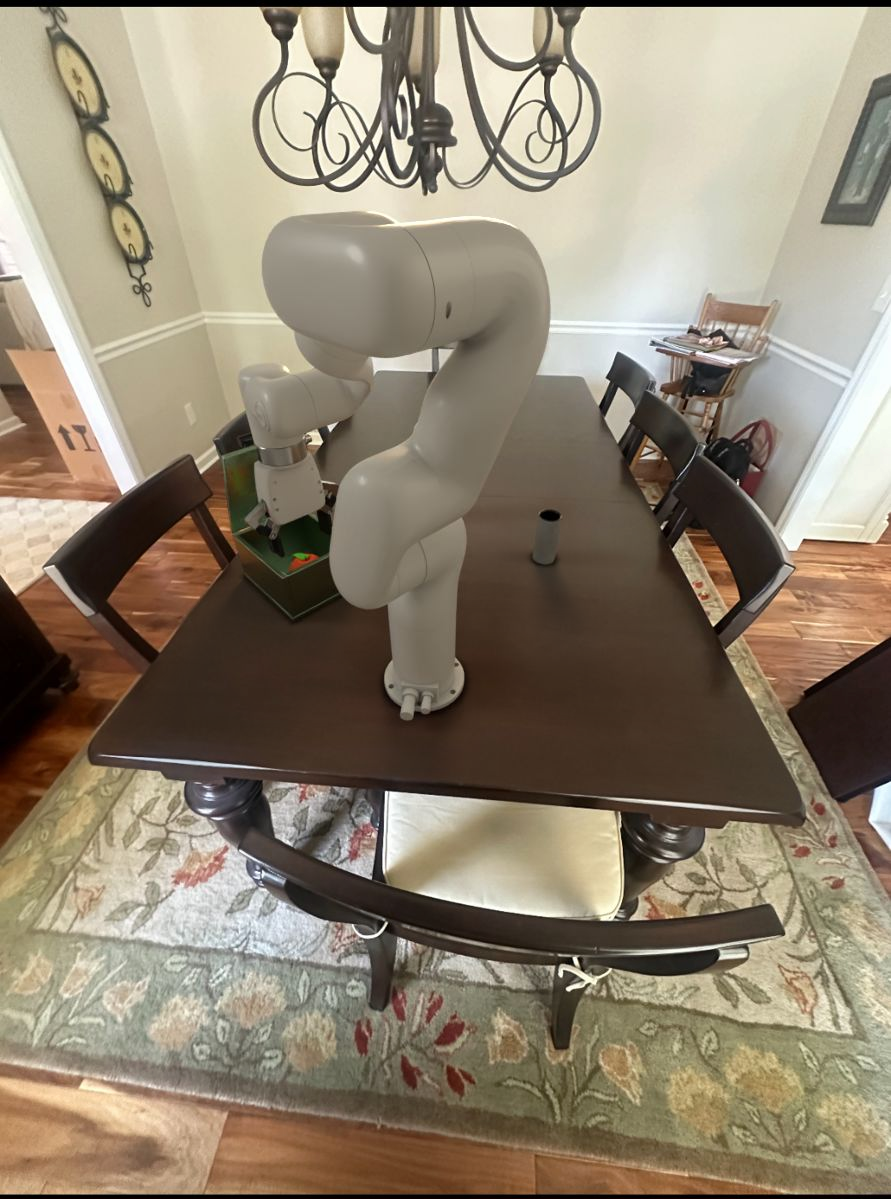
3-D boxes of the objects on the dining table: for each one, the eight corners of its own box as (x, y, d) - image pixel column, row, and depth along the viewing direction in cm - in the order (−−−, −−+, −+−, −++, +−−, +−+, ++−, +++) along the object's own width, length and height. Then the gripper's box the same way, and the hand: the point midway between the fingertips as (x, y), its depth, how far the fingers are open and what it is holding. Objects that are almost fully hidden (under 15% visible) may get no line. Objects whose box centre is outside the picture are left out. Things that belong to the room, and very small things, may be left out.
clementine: (281, 587, 97) (273, 556, 93) (308, 569, 102) (302, 539, 97) (310, 603, 94) (304, 573, 89) (337, 584, 98) (332, 554, 93)
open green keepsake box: (360, 585, 99) (355, 543, 93) (293, 622, 92) (282, 578, 85) (309, 546, 109) (301, 505, 102) (245, 576, 101) (231, 534, 95)
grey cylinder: (551, 567, 104) (558, 523, 97) (529, 561, 106) (535, 518, 99) (557, 554, 107) (564, 512, 100) (536, 549, 109) (542, 507, 102)
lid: (306, 431, 87) (289, 412, 88) (223, 458, 79) (206, 437, 80) (302, 505, 102) (287, 487, 103) (232, 534, 94) (217, 514, 96)
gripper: (316, 428, 87) (332, 517, 98) (218, 460, 78) (248, 554, 89) (341, 441, 82) (355, 532, 93) (241, 476, 73) (270, 572, 84)
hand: (303, 542), depth 91 cm, fingers open, 9 cm apart
